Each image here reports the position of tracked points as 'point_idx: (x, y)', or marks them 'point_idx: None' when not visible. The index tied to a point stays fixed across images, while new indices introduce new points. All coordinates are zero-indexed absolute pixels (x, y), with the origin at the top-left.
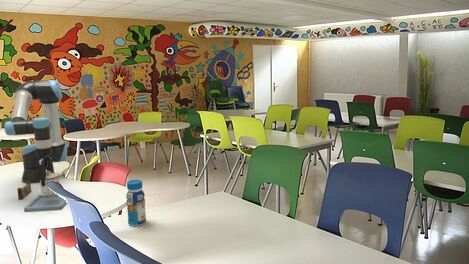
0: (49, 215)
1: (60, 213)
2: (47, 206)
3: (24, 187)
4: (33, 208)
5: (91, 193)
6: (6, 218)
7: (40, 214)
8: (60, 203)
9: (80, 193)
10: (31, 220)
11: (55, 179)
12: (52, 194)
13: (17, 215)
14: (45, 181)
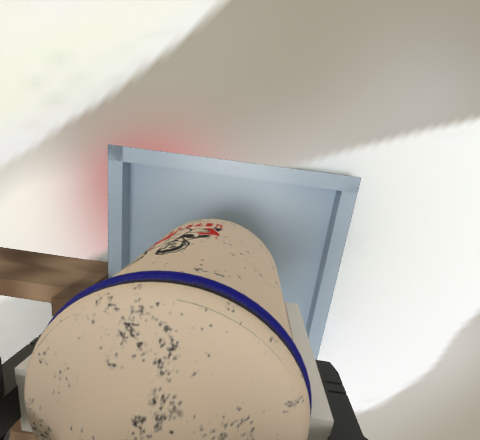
0: (421, 226)
1: (415, 170)
2: (335, 258)
3: (23, 435)
4: (323, 324)
5: (68, 19)
6: (371, 404)
7: (382, 275)
8: (258, 196)
9: (59, 104)
10: (457, 301)
11: (245, 289)
12: (92, 268)
13: (348, 371)
14: (324, 402)
